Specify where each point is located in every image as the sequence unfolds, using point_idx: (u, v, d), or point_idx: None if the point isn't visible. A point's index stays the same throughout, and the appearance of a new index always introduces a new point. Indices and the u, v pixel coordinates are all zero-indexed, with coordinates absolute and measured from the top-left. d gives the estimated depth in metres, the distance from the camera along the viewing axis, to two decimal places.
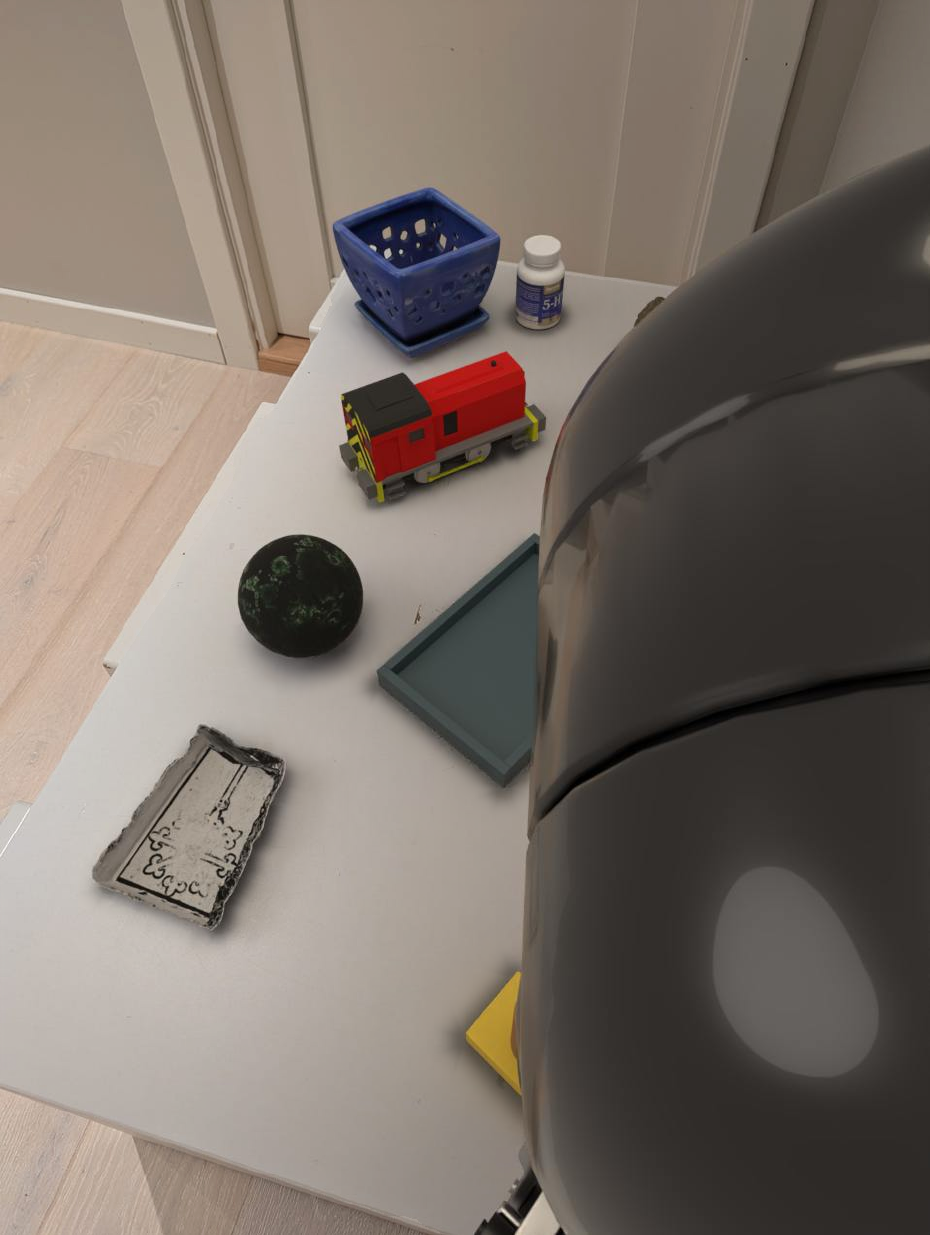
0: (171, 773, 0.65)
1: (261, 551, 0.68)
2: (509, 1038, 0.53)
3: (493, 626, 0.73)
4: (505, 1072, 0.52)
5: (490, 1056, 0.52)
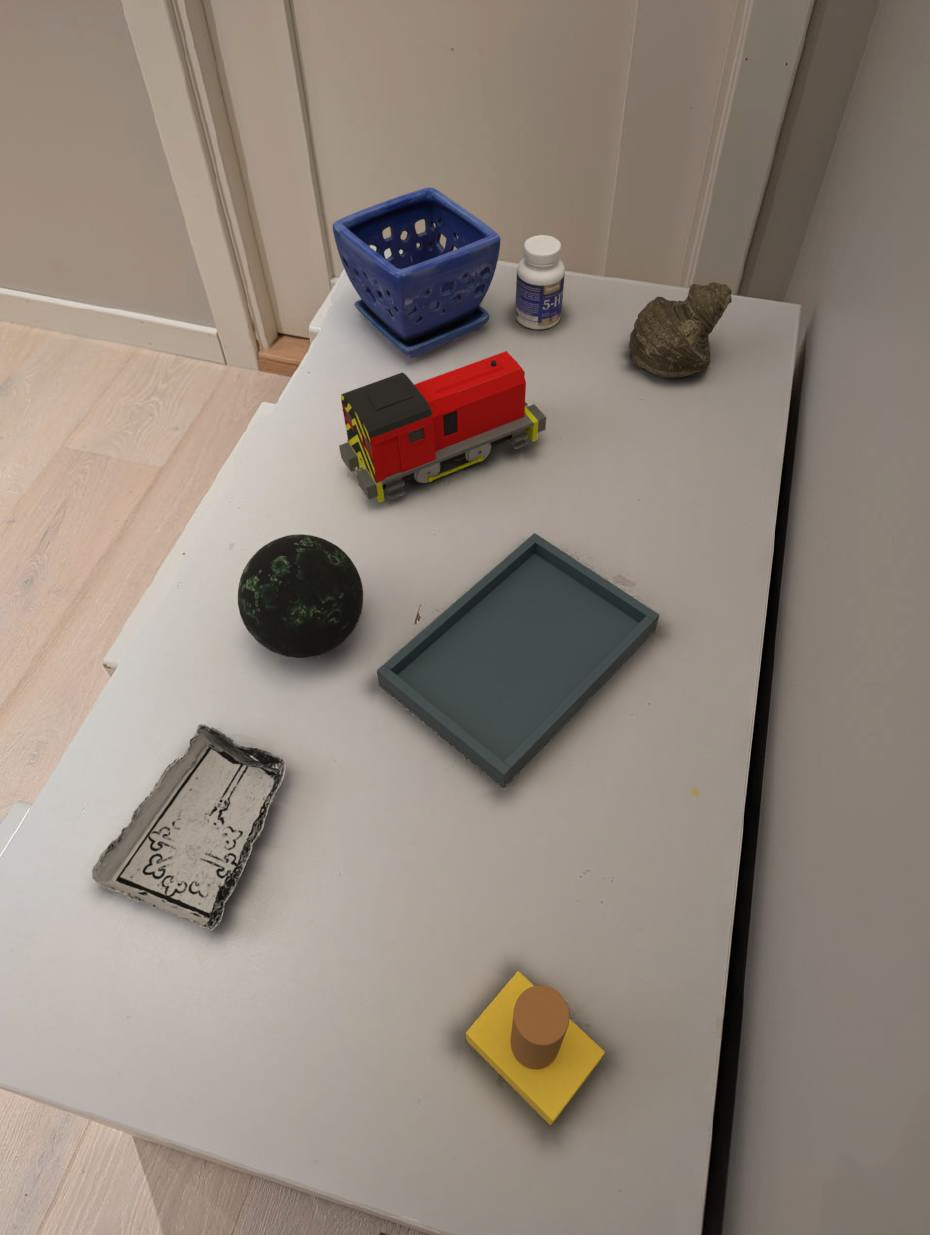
0: (171, 773, 0.65)
1: (261, 551, 0.68)
2: (509, 1038, 0.53)
3: (493, 626, 0.73)
4: (505, 1072, 0.52)
5: (490, 1056, 0.52)
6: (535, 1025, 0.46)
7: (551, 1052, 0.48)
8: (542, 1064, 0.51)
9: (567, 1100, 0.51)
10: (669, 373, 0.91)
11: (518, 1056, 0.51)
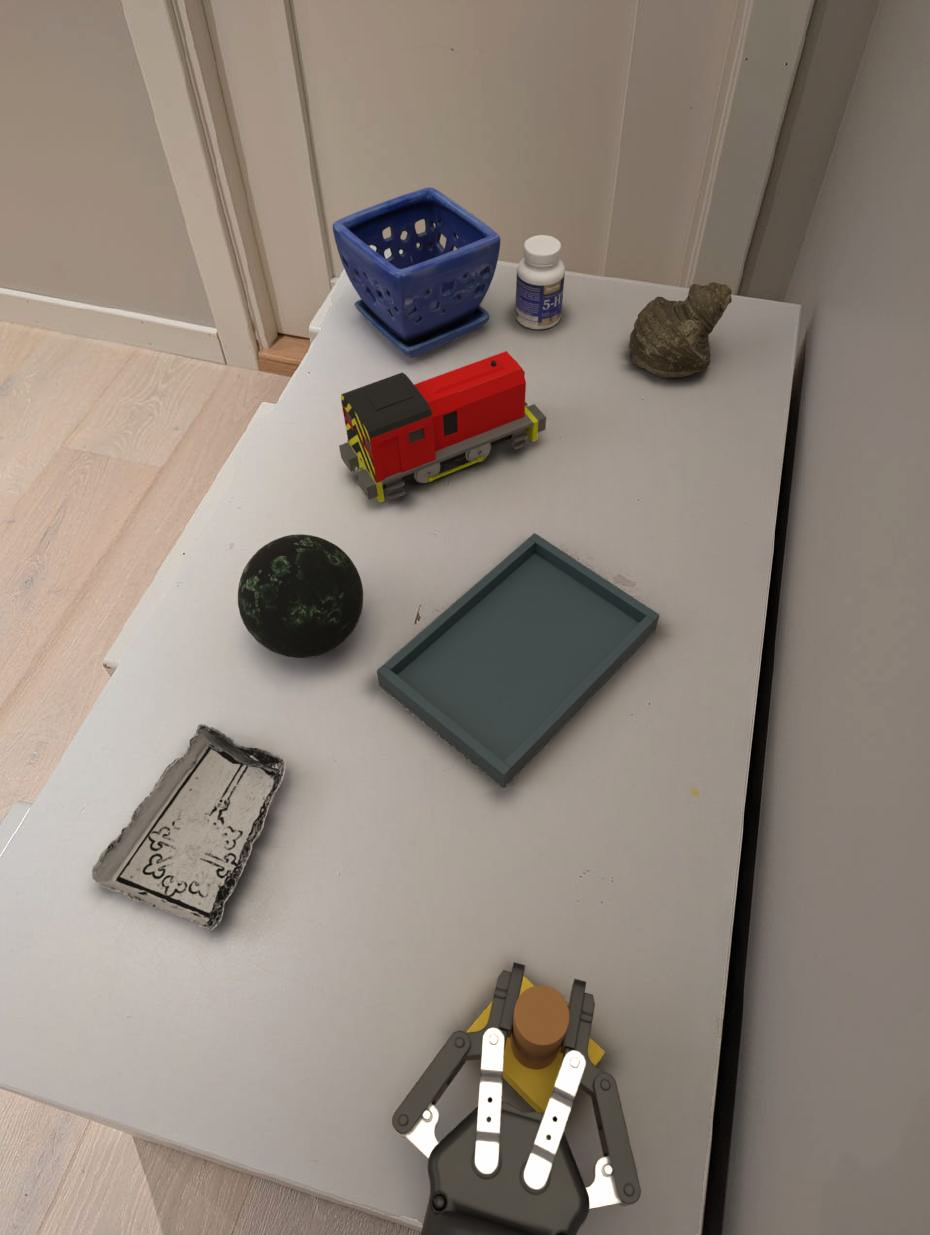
0: (171, 773, 0.65)
1: (261, 551, 0.68)
2: (509, 1038, 0.53)
3: (493, 626, 0.73)
4: (505, 1072, 0.52)
5: None
6: (536, 1024, 0.46)
7: (551, 1052, 0.48)
8: (542, 1064, 0.51)
9: None
10: (669, 373, 0.91)
11: (518, 1056, 0.51)
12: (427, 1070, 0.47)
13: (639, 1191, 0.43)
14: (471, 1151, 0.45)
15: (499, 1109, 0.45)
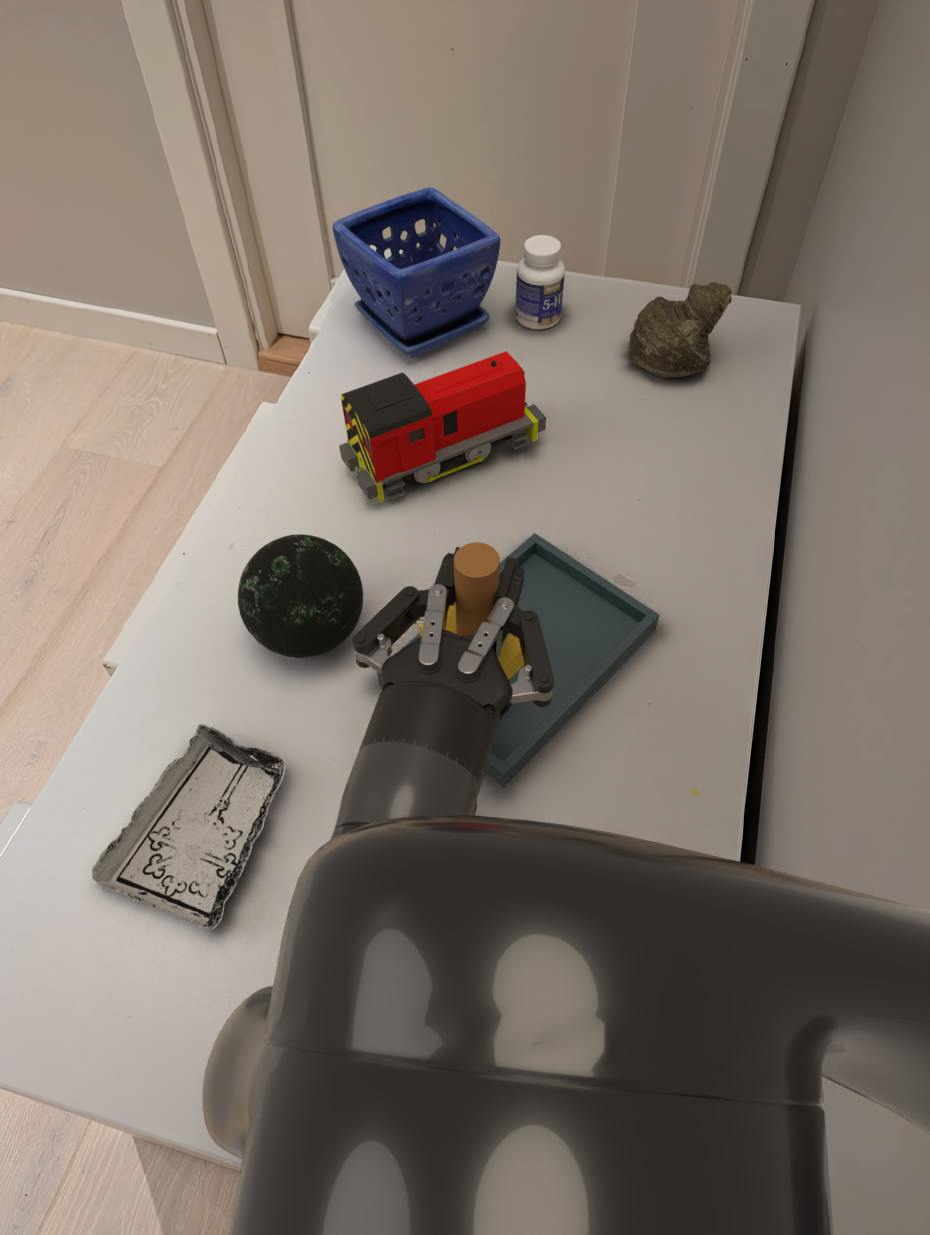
0: (171, 773, 0.65)
1: (261, 551, 0.68)
2: (455, 627, 0.63)
3: None
4: None
5: None
6: (471, 565, 0.56)
7: (486, 603, 0.57)
8: None
9: (502, 666, 0.61)
10: (669, 373, 0.91)
11: (461, 629, 0.60)
12: (382, 610, 0.56)
13: (552, 680, 0.53)
14: (417, 658, 0.54)
15: (440, 629, 0.55)
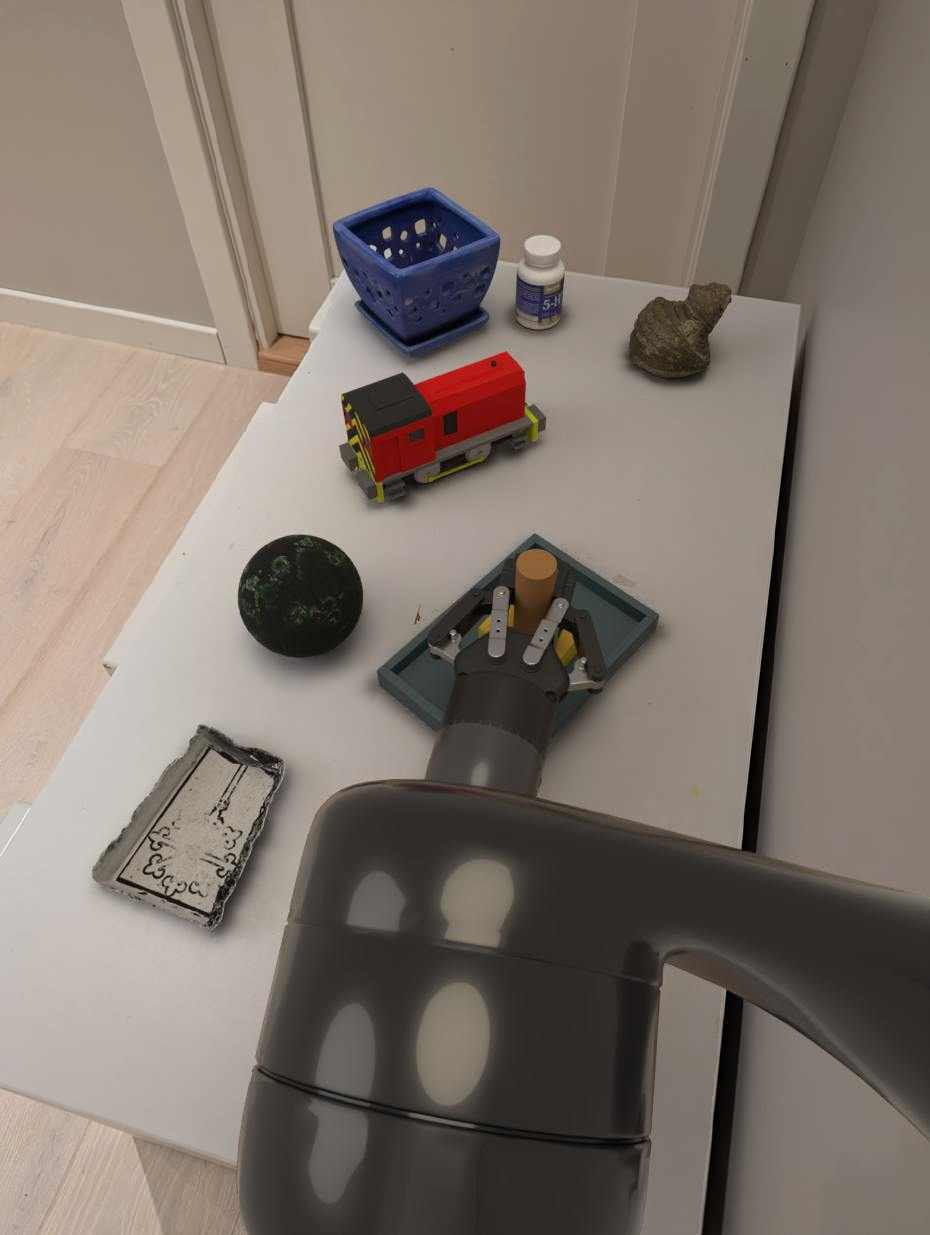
0: (171, 773, 0.65)
1: (261, 551, 0.68)
2: None
3: None
4: None
5: None
6: (533, 569, 0.63)
7: (545, 602, 0.65)
8: None
9: None
10: (669, 373, 0.91)
11: (520, 627, 0.68)
12: (453, 608, 0.64)
13: (605, 670, 0.61)
14: (485, 651, 0.62)
15: (505, 625, 0.63)
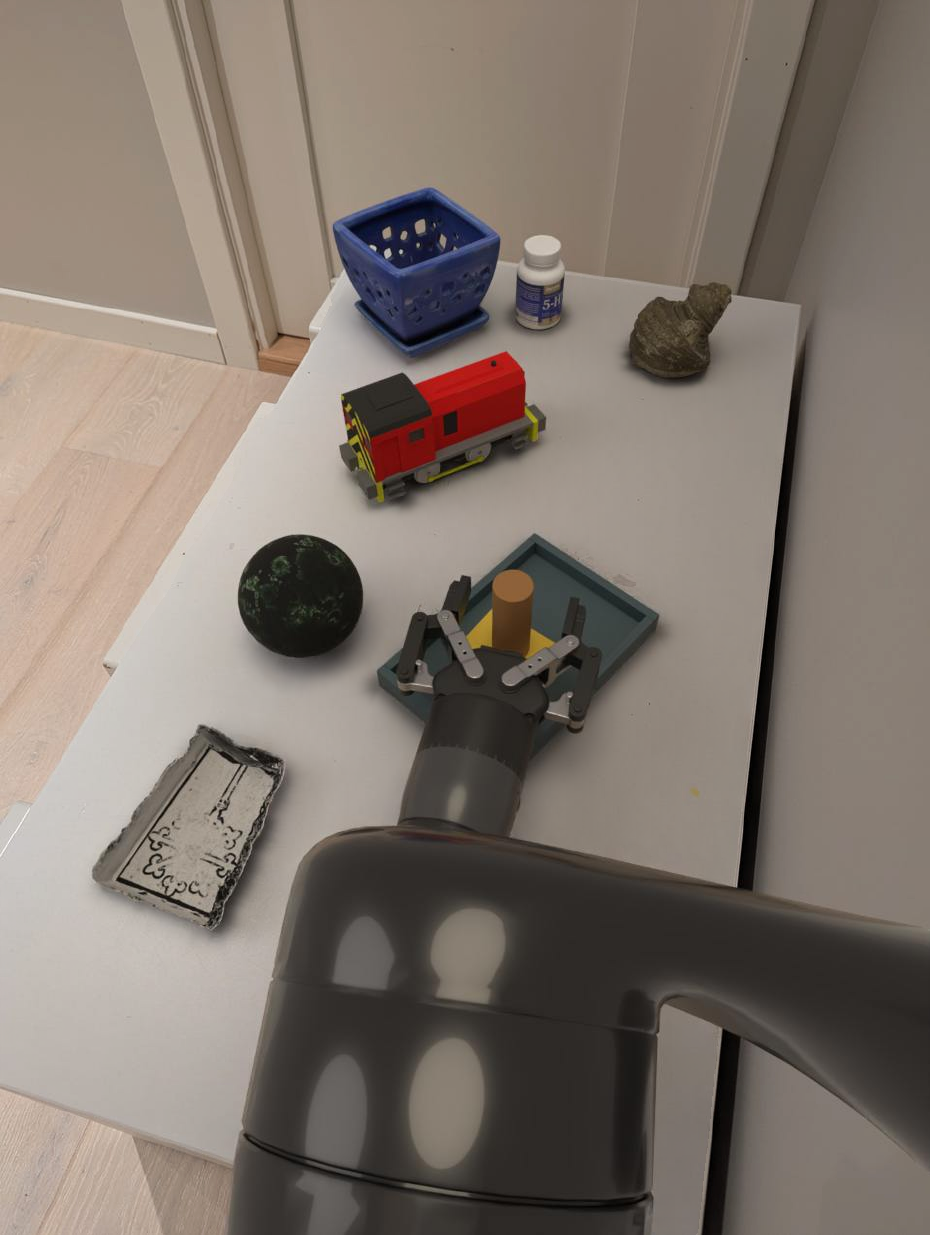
0: (171, 773, 0.65)
1: (261, 551, 0.68)
2: (491, 646, 0.69)
3: None
4: None
5: None
6: (509, 591, 0.62)
7: (522, 623, 0.64)
8: (517, 650, 0.67)
9: None
10: (669, 373, 0.91)
11: (498, 647, 0.67)
12: (406, 640, 0.63)
13: (584, 712, 0.59)
14: (464, 671, 0.61)
15: (469, 645, 0.62)
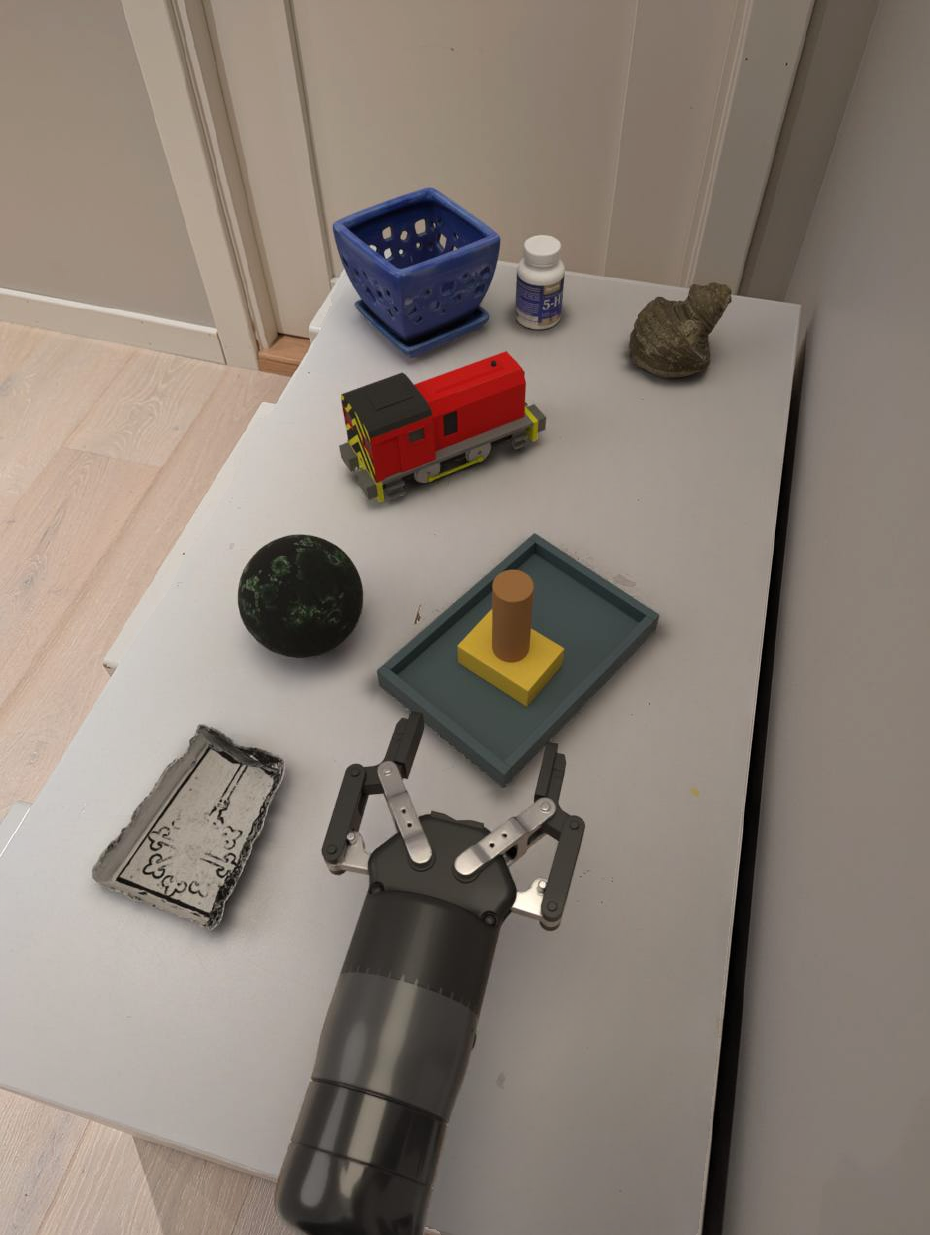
0: (171, 773, 0.65)
1: (261, 551, 0.68)
2: (491, 646, 0.69)
3: None
4: (489, 666, 0.68)
5: (477, 657, 0.68)
6: (509, 591, 0.62)
7: (522, 623, 0.64)
8: (517, 650, 0.67)
9: (538, 678, 0.67)
10: (669, 373, 0.91)
11: (498, 647, 0.67)
12: (336, 805, 0.50)
13: (560, 912, 0.46)
14: (408, 850, 0.48)
15: (415, 813, 0.49)
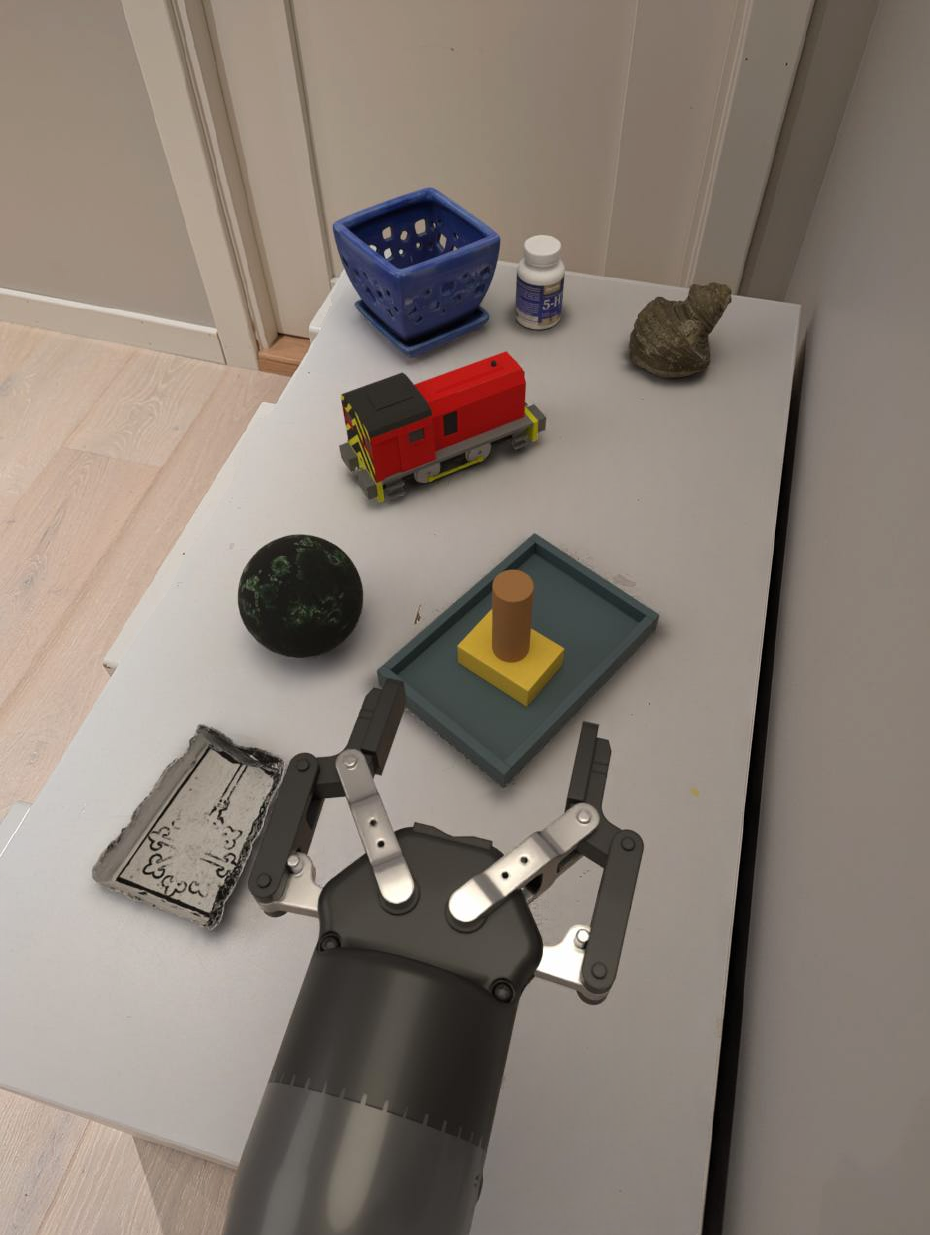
0: (170, 773, 0.65)
1: (261, 551, 0.68)
2: (491, 646, 0.69)
3: None
4: (489, 666, 0.68)
5: (477, 657, 0.68)
6: (509, 591, 0.62)
7: (522, 623, 0.64)
8: (517, 650, 0.67)
9: (538, 678, 0.67)
10: (669, 373, 0.91)
11: (498, 647, 0.67)
12: (273, 813, 0.33)
13: (612, 980, 0.30)
14: None
15: (389, 827, 0.32)
